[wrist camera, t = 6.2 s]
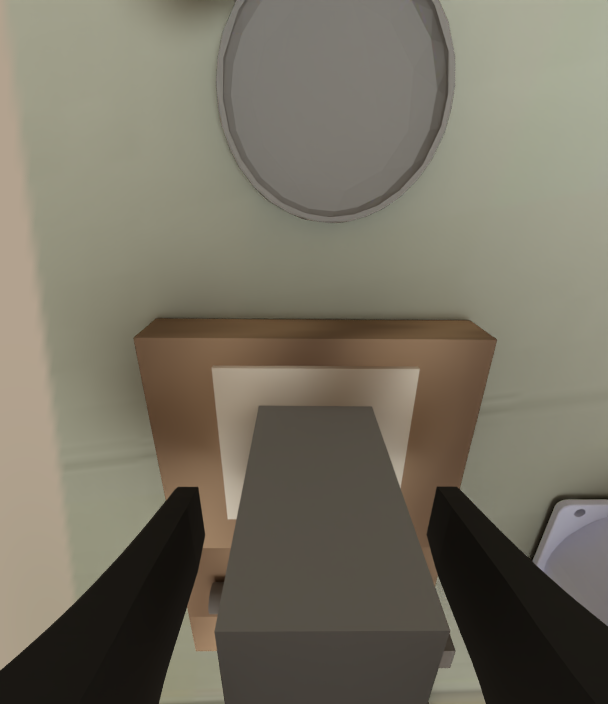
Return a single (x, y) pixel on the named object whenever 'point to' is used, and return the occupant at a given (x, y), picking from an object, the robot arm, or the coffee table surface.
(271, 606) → the gray rectangular block
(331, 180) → the pocket watch
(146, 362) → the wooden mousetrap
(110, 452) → the coffee table surface
